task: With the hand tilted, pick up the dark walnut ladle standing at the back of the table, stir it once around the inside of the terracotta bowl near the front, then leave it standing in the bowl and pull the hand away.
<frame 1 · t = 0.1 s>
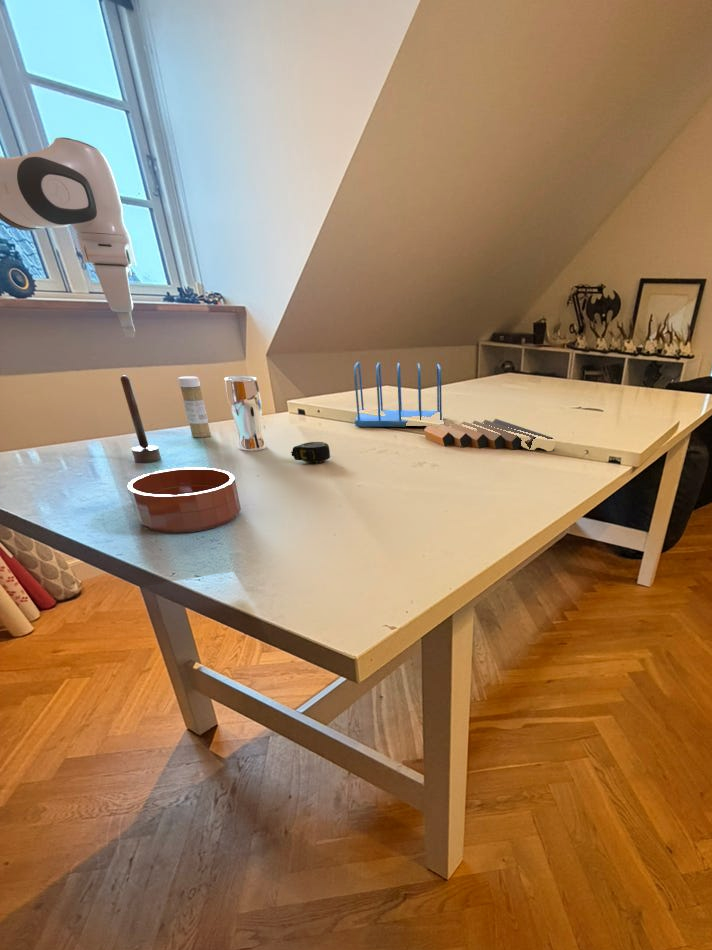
hand: (130, 335, 112), 23 cm above the table, tool pointing down, fingers open, 8 cm apart
file sorter: (400, 422, 160), on the table
tape measure: (311, 462, 120), on the table
pan flute: (488, 445, 141), on the table
sprinkles bottle: (201, 436, 136), on the table
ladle: (148, 459, 116), on the table
beer glass: (253, 448, 128), on the table
bowl: (192, 517, 89), on the table
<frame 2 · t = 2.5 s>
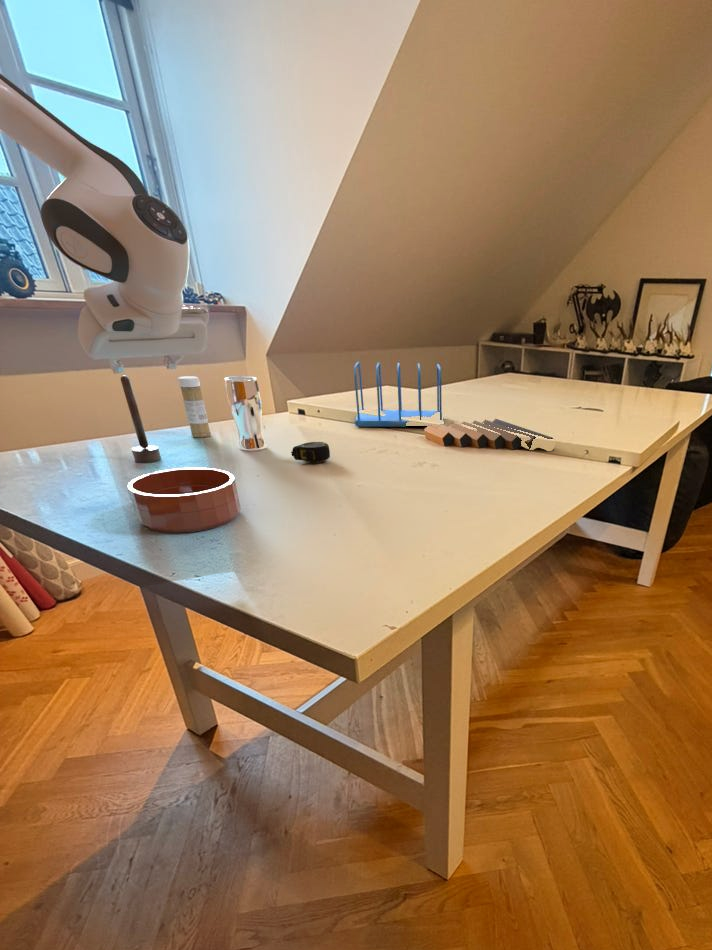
hand: (143, 368, 100), 19 cm above the table, tool tilted 45°, fingers open, 8 cm apart
nothing on the table moved.
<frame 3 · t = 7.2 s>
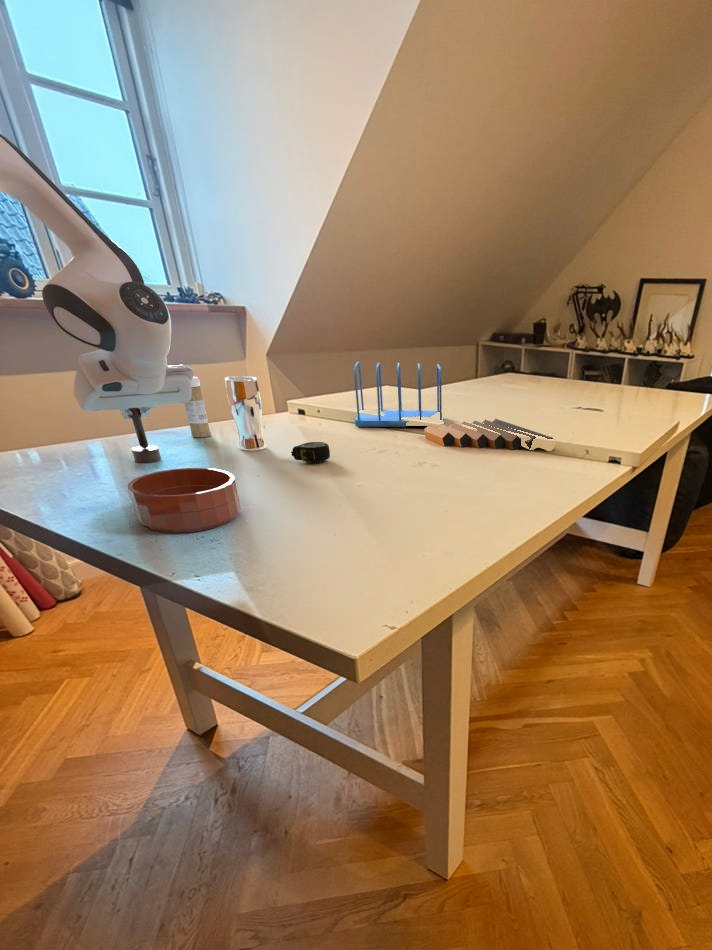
hand: (134, 415, 111), 9 cm above the table, tool tilted 45°, fingers closed on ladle
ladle: (148, 459, 116), on the table, touching gripper
everything else where it was.
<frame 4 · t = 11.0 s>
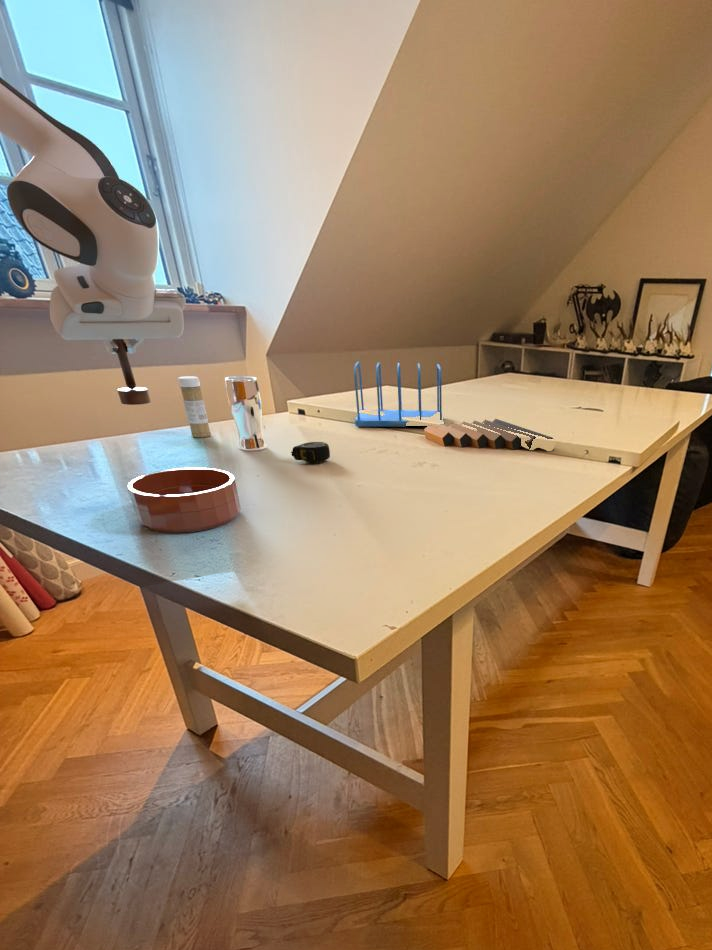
hand: (120, 350, 100), 21 cm above the table, tool tilted 45°, fingers closed on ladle
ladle: (136, 402, 104), point 13 cm above the table, touching gripper
everything else where it was.
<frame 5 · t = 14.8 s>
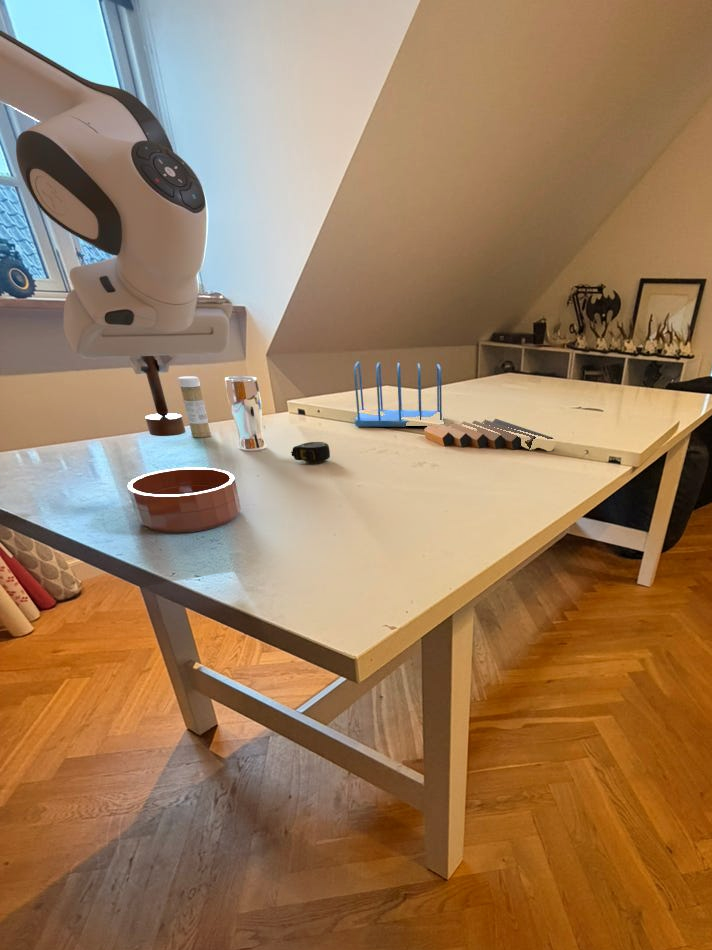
hand: (149, 369, 80), 22 cm above the table, tool tilted 45°, fingers closed on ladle
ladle: (168, 432, 84), point 13 cm above the table, touching gripper
everything else where it was.
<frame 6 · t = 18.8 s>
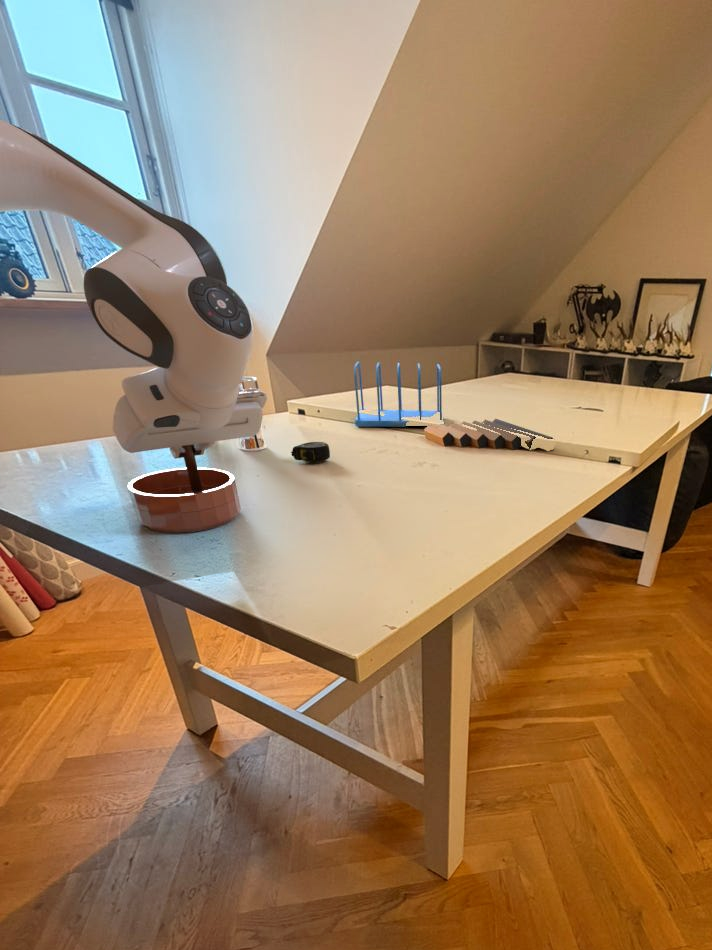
hand: (186, 452, 85), 10 cm above the table, tool tilted 45°, fingers closed on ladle
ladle: (201, 508, 89), point 1 cm above the table, touching gripper
everything else where it was.
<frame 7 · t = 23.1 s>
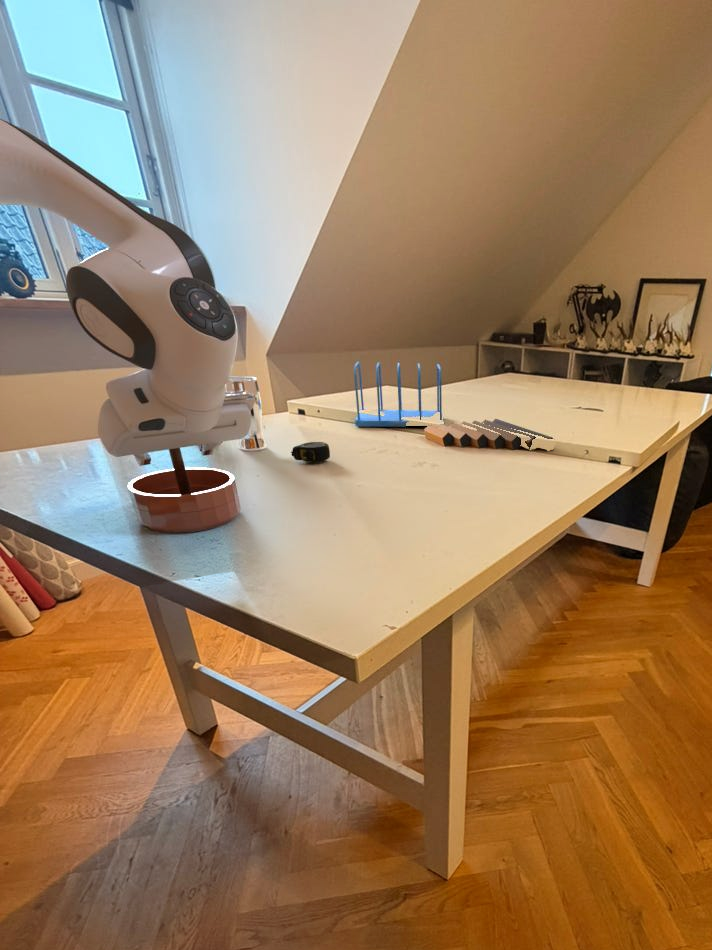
hand: (174, 456, 84), 10 cm above the table, tool tilted 45°, fingers open, 8 cm apart
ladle: (190, 512, 88), point 1 cm above the table, touching bowl
everything else where it was.
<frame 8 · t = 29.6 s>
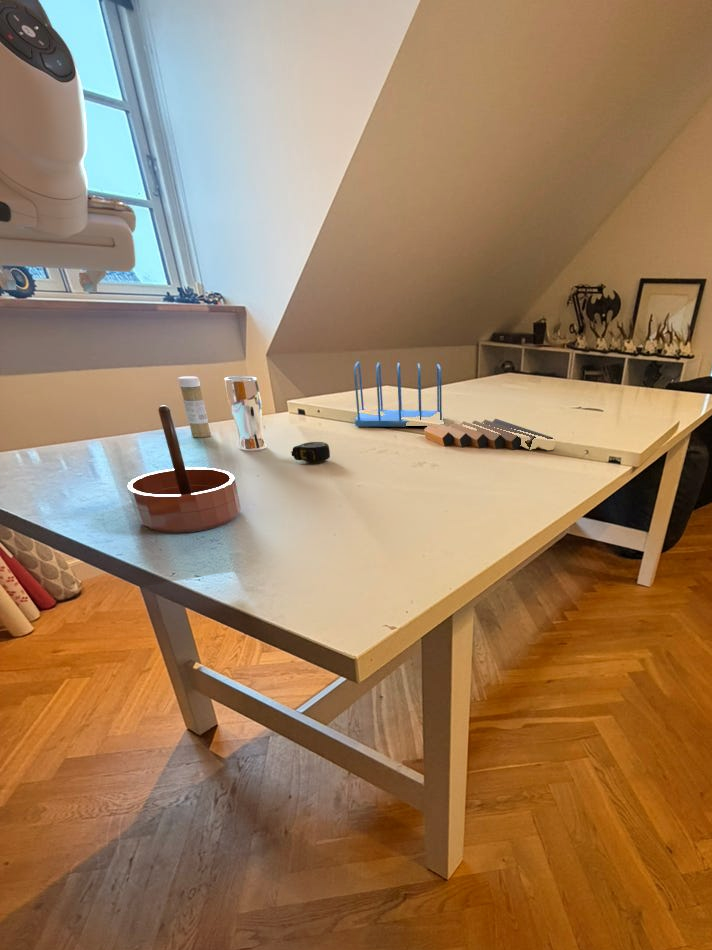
hand: (49, 287, 74), 31 cm above the table, tool tilted 45°, fingers open, 8 cm apart
nothing on the table moved.
at the end: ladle inside the target area in the bowl (0.1 cm from its centre), point 0.8 cm above the bowl's base; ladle tilted 0°; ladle moved 40.5 cm from its start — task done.
